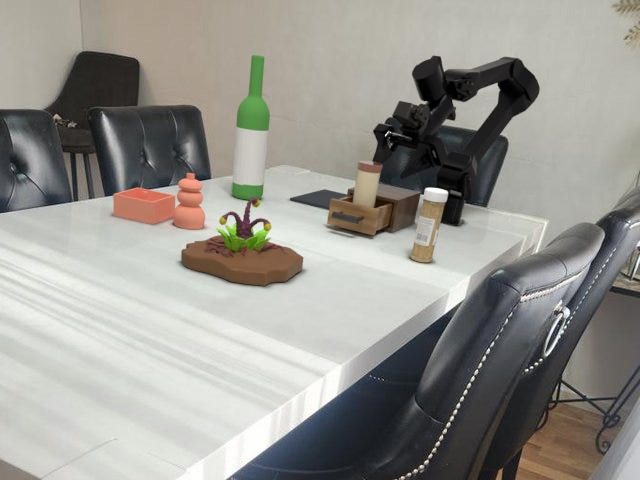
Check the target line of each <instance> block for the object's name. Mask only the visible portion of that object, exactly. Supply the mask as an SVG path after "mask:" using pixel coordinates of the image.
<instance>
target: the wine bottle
mask: <svg viewBox="0 0 640 480" xmlns="http://www.w3.org/2000/svg"><path fill="white" fill-rule="evenodd" d="M264 69H265V55H258V54H257V55H256V54H252V55H251V60H250V73H249V84H248V85H249V86H248V94H247V96H246V97H245V98H244V99H242V101H241V102H240V104H239V106H238V109H237V111H236V112H237V113H236V124H235V125H236V126H235V138H234V152H233V153H234V155H233V170H232V184H231V192H232V196H233V197H235V198H237V199H239V200H245V201H249V200H250V198H252V197H256V198H258V199H259V200H261V199H262V197H263V194H264V186H265V185H264V184H265V175H266V165H267V152H268V143H269V142H268V141H269V131H270V129H269V128H270V119H271V118H270V117H271V115H270V108H269V106H268V104H267V103H266V101H265V100H264V98H263V97H262V96H263V83H264Z"/></svg>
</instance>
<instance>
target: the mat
mask: <svg viewBox="0 0 640 480" xmlns="http://www.w3.org/2000/svg"><path fill="white" fill-rule="evenodd" d="M344 197H347V193H342V192H338V191H335V190H330V189H325V188H324V189H319V190H316V191H312V192H308V193H305V194H300V195H296V196H292V197H290V198H289V201H290V202H295V203H300V204H304V205H309V206H311V207H317V208H320V209H324V210H328V211H329V207H330V200H331V199H332V198H334V199H340V198H344Z"/></svg>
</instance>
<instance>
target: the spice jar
mask: <svg viewBox="0 0 640 480" xmlns="http://www.w3.org/2000/svg"><path fill="white" fill-rule="evenodd" d="M447 197H448V192H447V191H446V190H443V189H438V188H437V187H425V188H424V193H423V196H422V205H421V209H420V213H419V217H418V221H417V225H416V231H415V234H414V239H413V245H412V249H411V254H410V259H412V261H415V262H418V263H426V264H428V263H431V262H432V261H433V255H434V252H435V248H436V244H437V240H438V235H439V231H440V227H441V222H440V221H441V217H442V213H443V209H444V205H445V202H446V201H447Z"/></svg>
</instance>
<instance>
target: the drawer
mask: <svg viewBox="0 0 640 480" xmlns="http://www.w3.org/2000/svg"><path fill="white" fill-rule="evenodd" d="M353 196H354V195H351V196H347V197H344V198H340V199H334V198H332V199H331V200H330V207H329V210H328V214H327V222H326V224H327V225H330V226H334V227H338V228H341V229H346V230H349V231H354V232H358V233H361V234H364V235H365V234H366V235H368V236H375V235H376V232H377V231H381V230H380V229H382V228H384V227H387V226H389V225H390V223H391V218H392V213H393V208H394V203H391V202H387V201H383V200H378V199H376V200H375V206H374V208H372V207H368V206H364V205H359V204H355V203H352V202H353Z"/></svg>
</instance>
